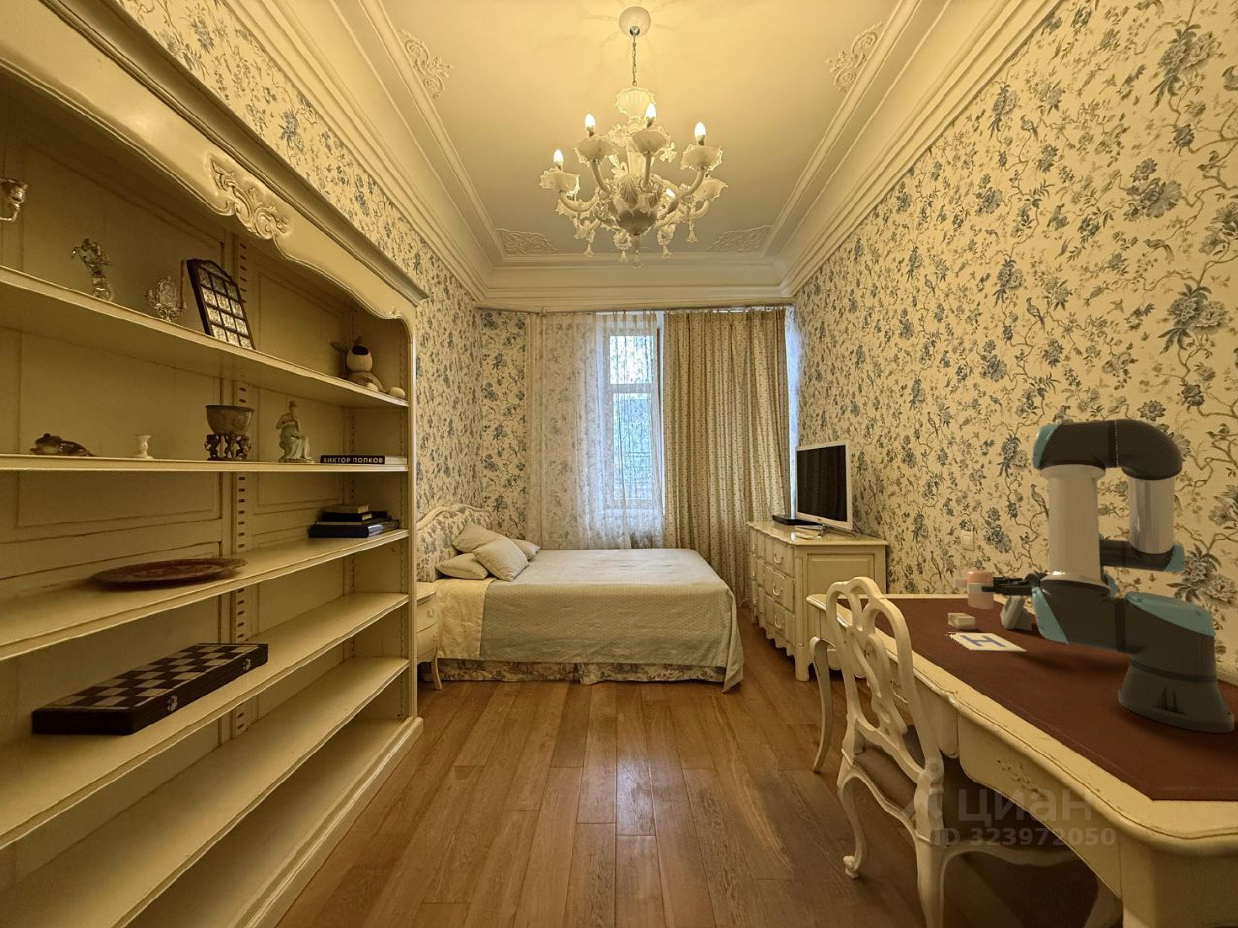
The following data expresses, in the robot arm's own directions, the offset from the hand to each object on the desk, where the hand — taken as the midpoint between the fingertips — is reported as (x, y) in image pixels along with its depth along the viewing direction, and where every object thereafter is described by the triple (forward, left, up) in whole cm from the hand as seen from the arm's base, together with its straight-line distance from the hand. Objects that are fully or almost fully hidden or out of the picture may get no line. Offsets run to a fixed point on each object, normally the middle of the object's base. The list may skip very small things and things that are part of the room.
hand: (961, 585), depth 137 cm
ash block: (+13, -7, -17) cm, 22 cm away
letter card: (0, -5, -16) cm, 17 cm away
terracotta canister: (0, -5, -6) cm, 8 cm away
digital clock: (+17, -25, -17) cm, 34 cm away
